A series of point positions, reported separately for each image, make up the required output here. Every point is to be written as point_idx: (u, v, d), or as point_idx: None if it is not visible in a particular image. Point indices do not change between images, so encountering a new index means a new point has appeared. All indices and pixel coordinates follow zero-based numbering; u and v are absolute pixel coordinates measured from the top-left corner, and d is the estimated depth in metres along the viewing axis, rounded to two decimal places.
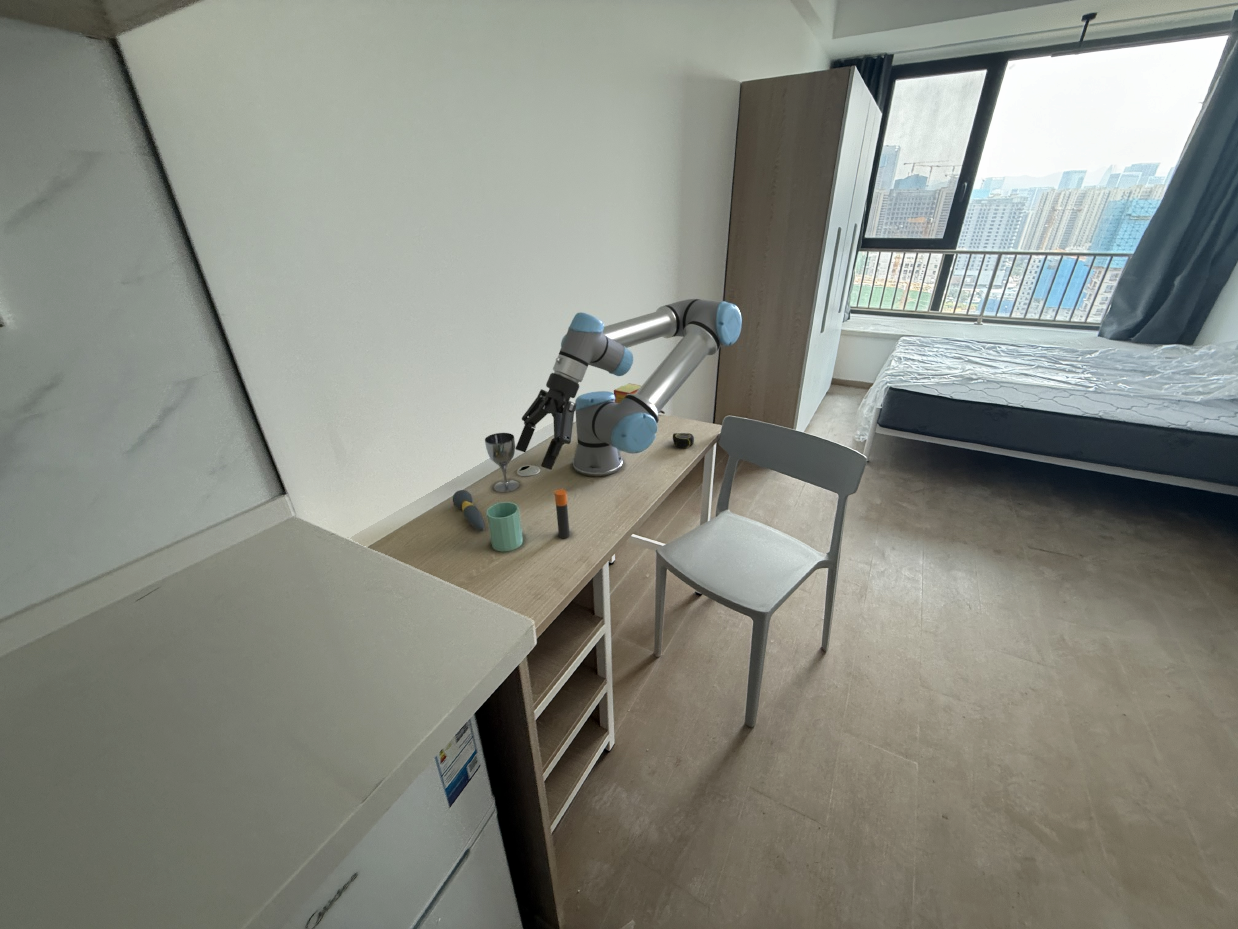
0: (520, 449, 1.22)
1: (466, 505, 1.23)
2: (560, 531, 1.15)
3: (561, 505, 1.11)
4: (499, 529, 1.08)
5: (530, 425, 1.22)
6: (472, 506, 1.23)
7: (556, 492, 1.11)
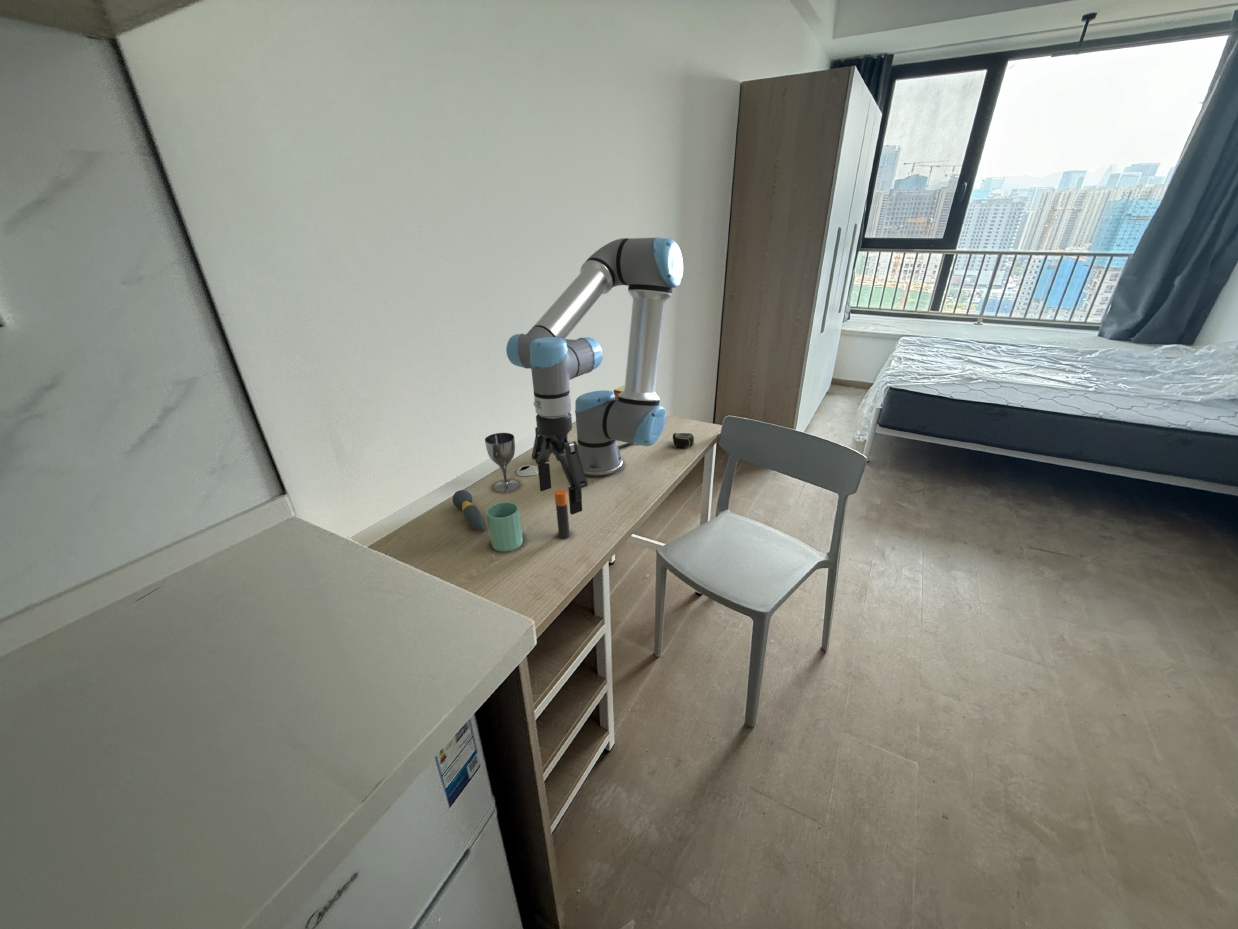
0: (545, 488, 1.16)
1: (466, 505, 1.23)
2: (560, 531, 1.15)
3: (561, 505, 1.11)
4: (499, 529, 1.08)
5: (543, 462, 1.14)
6: (472, 506, 1.23)
7: (556, 492, 1.11)
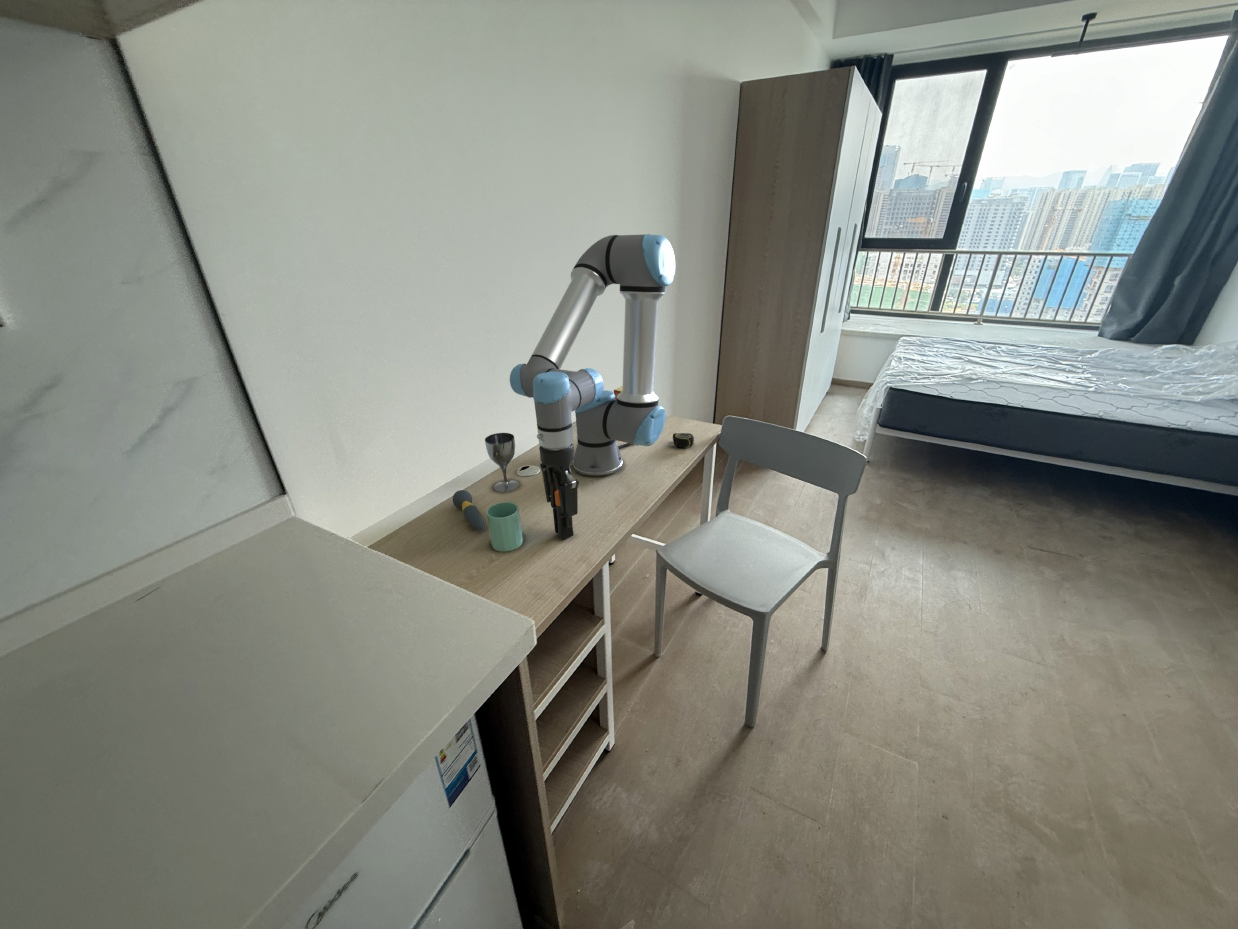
0: None
1: (466, 505, 1.23)
2: (560, 531, 1.15)
3: None
4: (499, 529, 1.08)
5: None
6: (472, 506, 1.23)
7: (556, 492, 1.11)
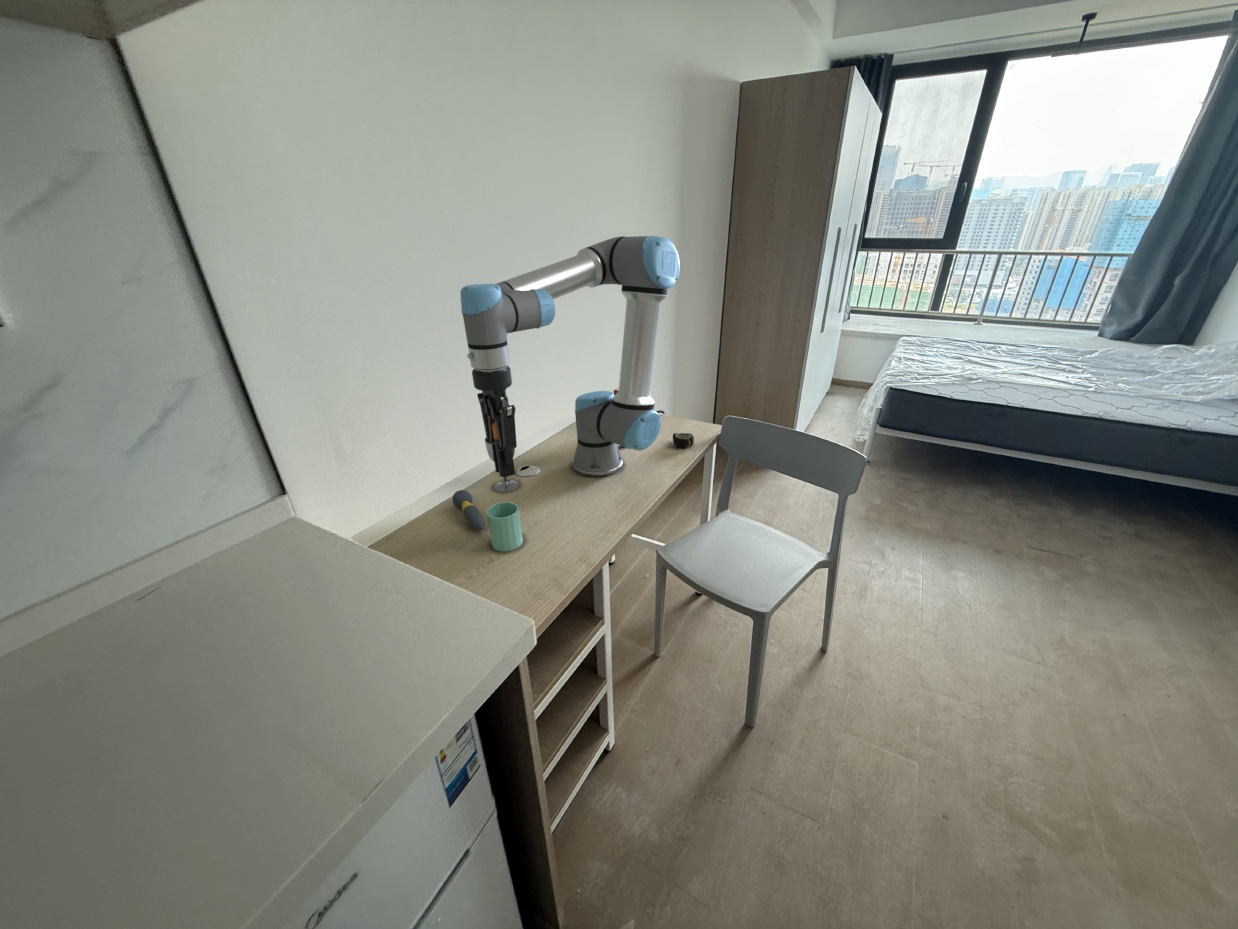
0: None
1: (466, 505, 1.23)
2: (500, 469, 1.05)
3: None
4: (499, 529, 1.08)
5: None
6: (472, 506, 1.23)
7: (494, 424, 1.01)
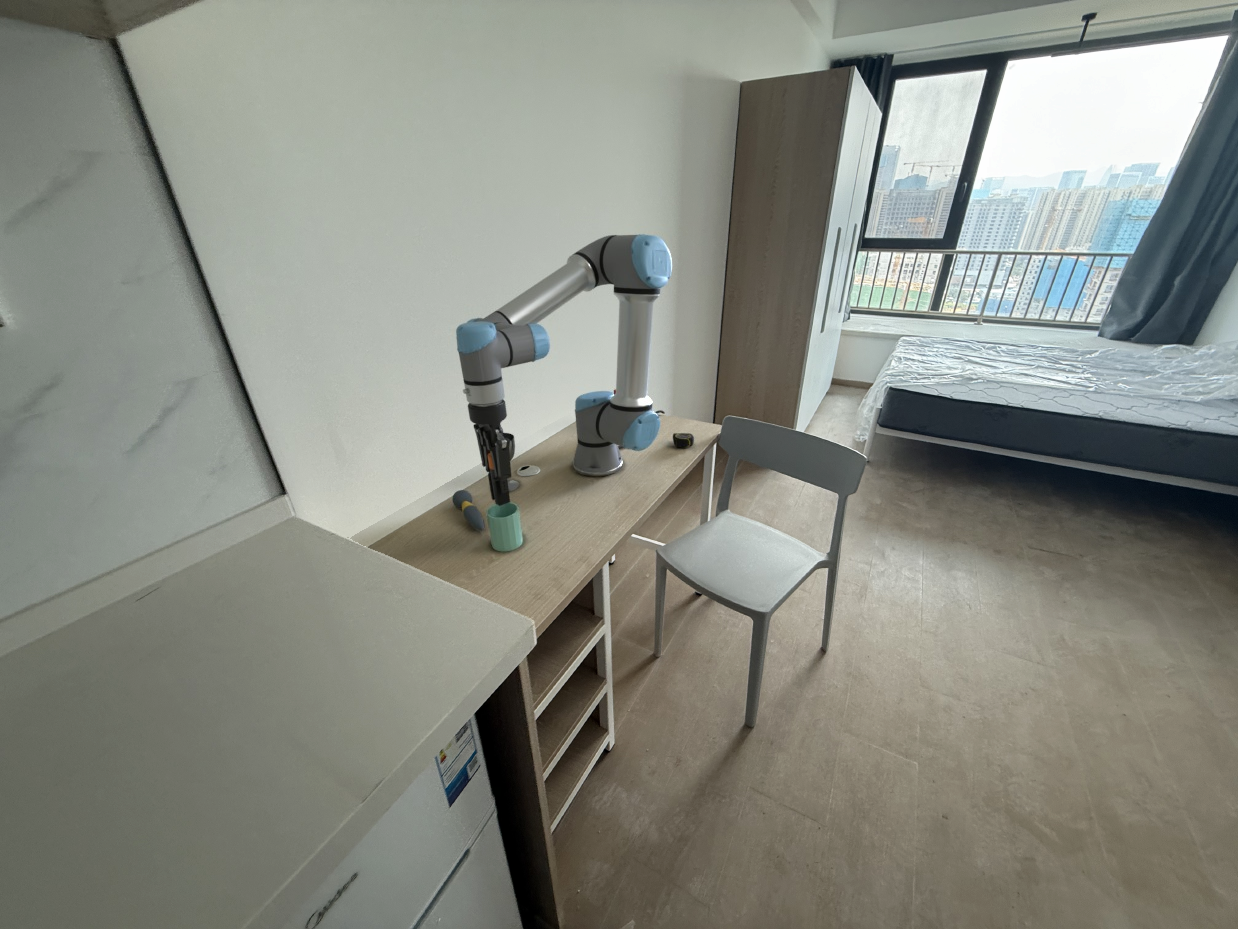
0: None
1: (466, 505, 1.23)
2: (496, 497, 1.08)
3: None
4: (499, 529, 1.08)
5: None
6: (472, 506, 1.23)
7: (489, 454, 1.04)
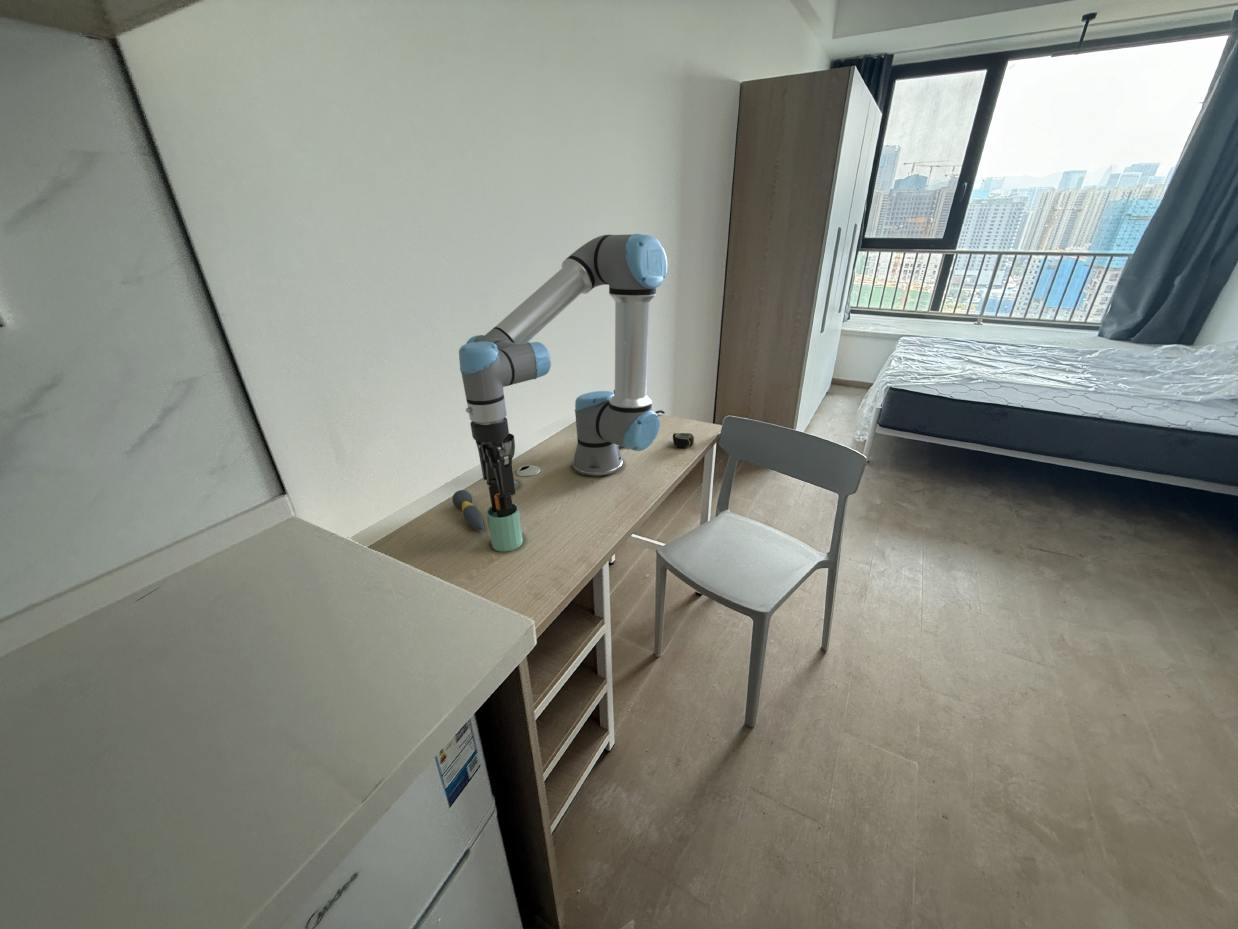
0: None
1: (466, 505, 1.23)
2: None
3: None
4: (499, 529, 1.08)
5: (494, 482, 1.10)
6: (472, 506, 1.23)
7: (496, 496, 1.09)
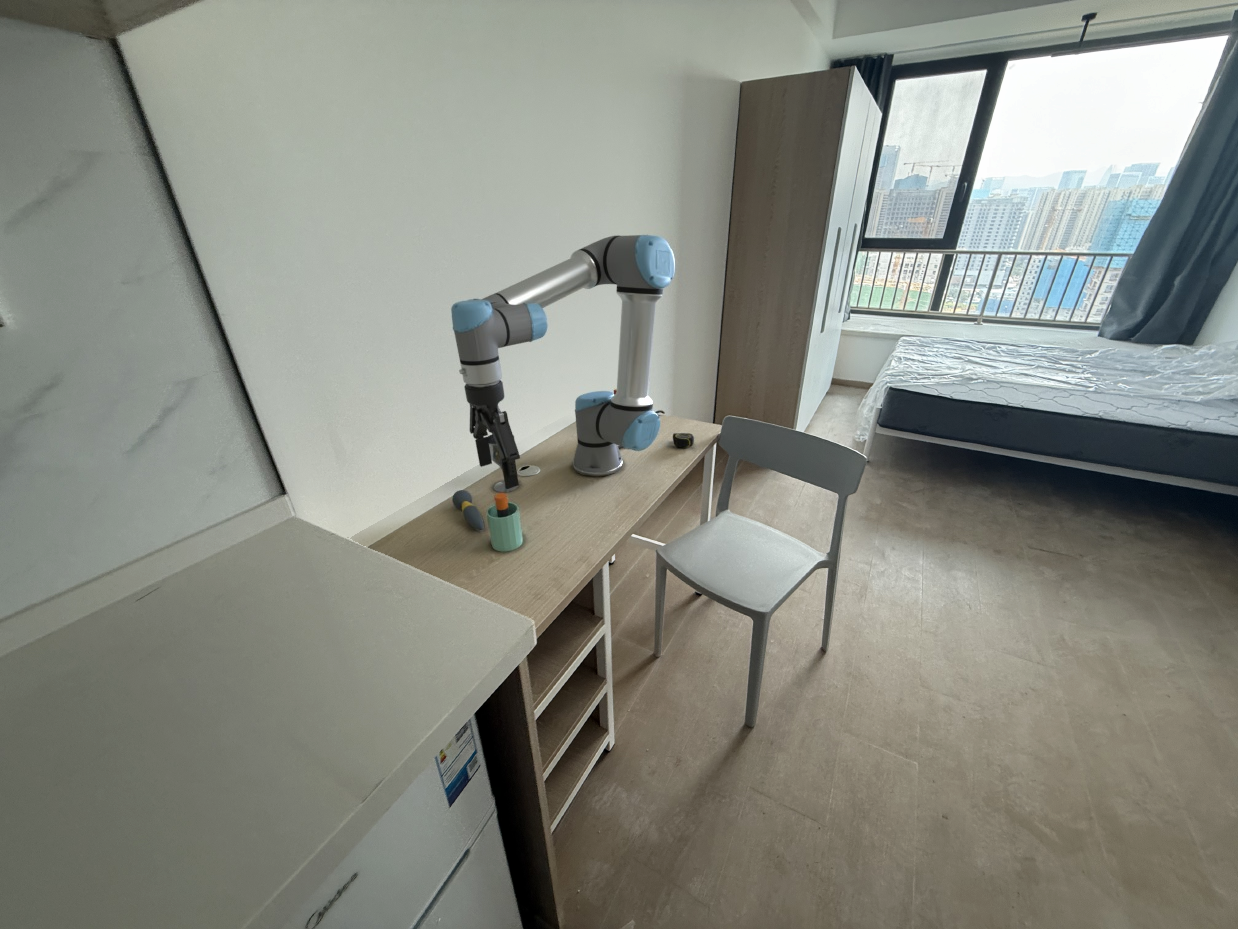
0: (485, 464, 1.11)
1: (466, 505, 1.23)
2: None
3: (501, 509, 1.09)
4: (499, 529, 1.08)
5: (481, 436, 1.09)
6: (472, 506, 1.23)
7: (496, 496, 1.09)
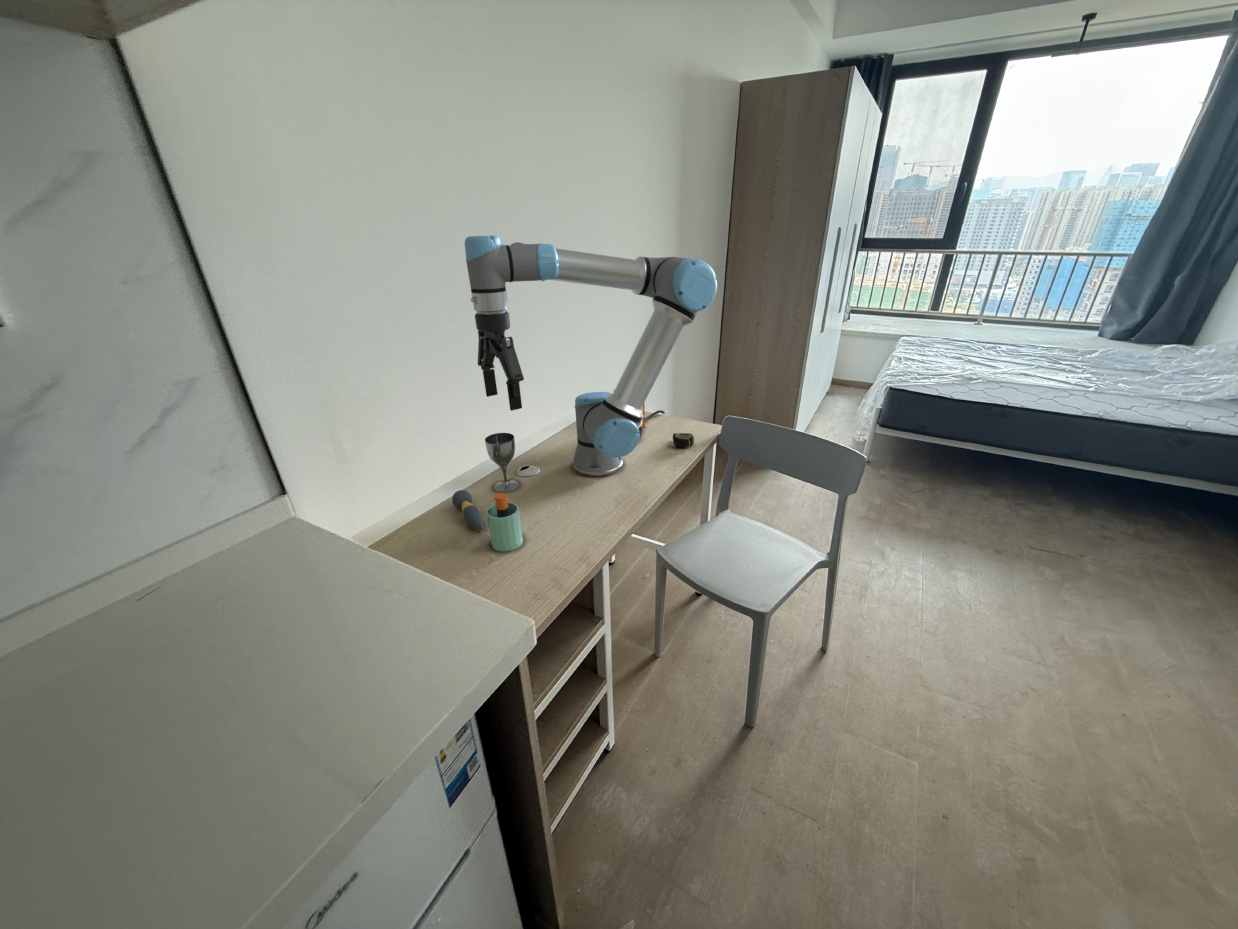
0: (491, 394, 1.22)
1: (466, 505, 1.23)
2: None
3: (501, 509, 1.09)
4: (499, 529, 1.08)
5: (488, 368, 1.20)
6: (472, 506, 1.23)
7: (496, 496, 1.09)
